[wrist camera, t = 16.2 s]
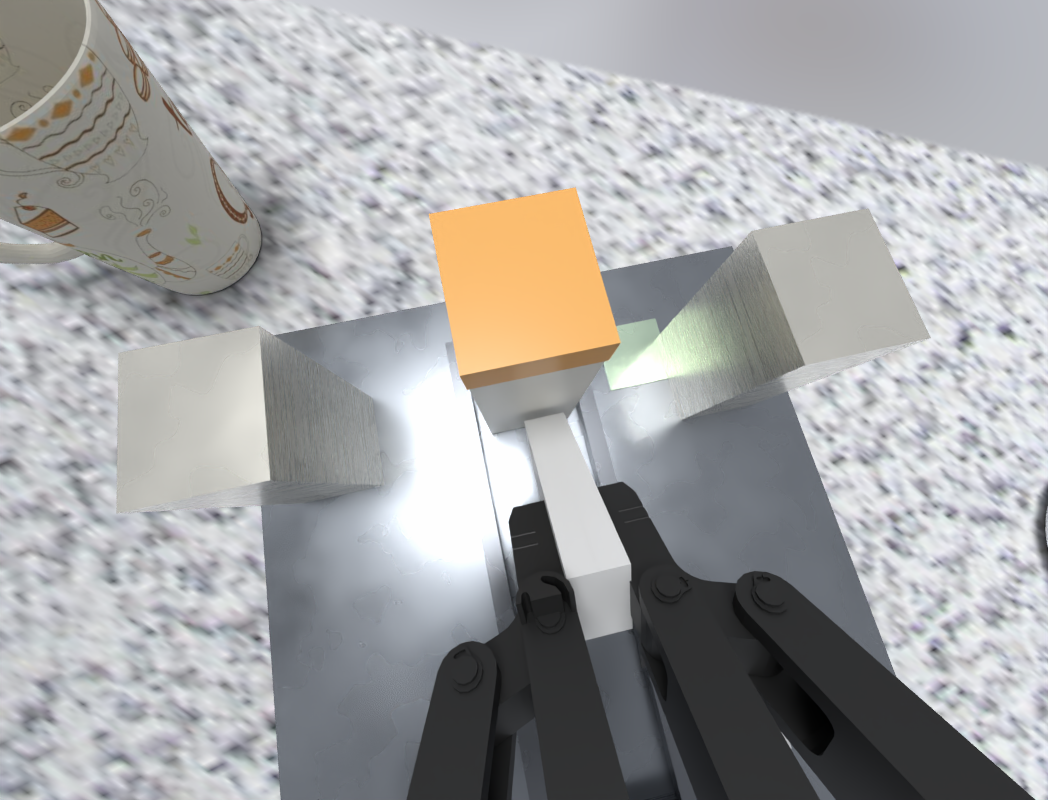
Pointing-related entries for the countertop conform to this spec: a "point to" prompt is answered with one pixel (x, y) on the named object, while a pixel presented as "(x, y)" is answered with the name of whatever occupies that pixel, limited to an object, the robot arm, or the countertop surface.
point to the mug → (108, 157)
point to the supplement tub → (1046, 527)
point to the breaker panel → (510, 485)
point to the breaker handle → (524, 304)
